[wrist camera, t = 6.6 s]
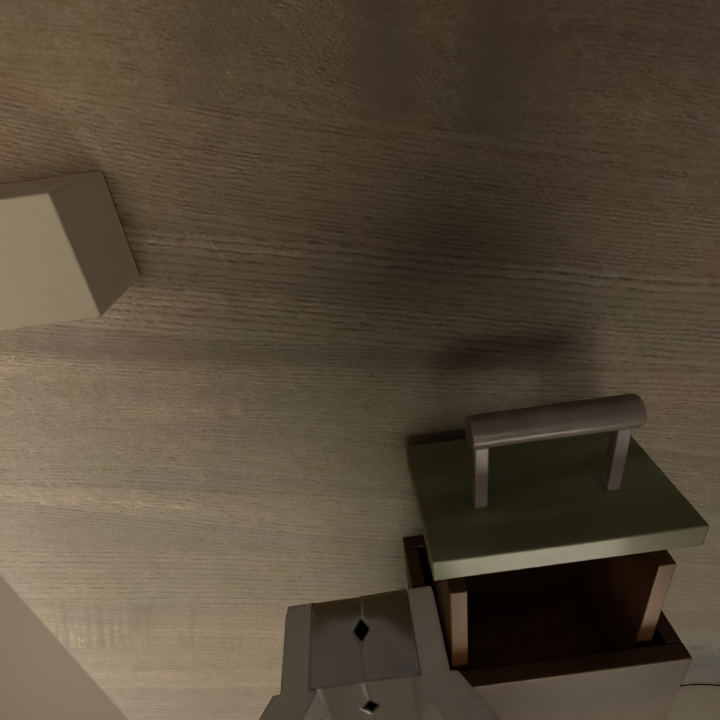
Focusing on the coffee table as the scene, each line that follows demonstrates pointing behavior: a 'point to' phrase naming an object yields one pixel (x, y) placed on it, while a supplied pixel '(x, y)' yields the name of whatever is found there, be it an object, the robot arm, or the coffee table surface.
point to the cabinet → (577, 674)
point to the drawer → (548, 533)
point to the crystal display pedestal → (696, 703)
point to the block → (60, 251)
